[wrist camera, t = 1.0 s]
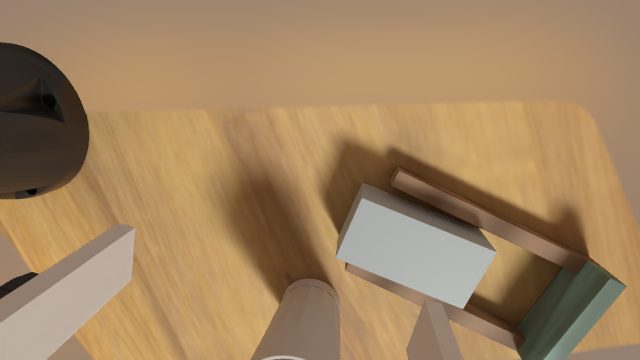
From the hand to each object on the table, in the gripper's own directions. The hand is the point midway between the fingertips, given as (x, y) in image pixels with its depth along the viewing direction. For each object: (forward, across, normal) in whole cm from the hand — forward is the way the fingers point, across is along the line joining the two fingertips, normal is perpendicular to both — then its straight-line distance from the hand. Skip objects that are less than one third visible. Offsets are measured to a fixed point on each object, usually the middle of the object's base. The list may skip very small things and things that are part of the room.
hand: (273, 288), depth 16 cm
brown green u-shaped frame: (+19, +16, -5) cm, 25 cm away
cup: (+20, +3, -14) cm, 24 cm away
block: (+20, +10, -4) cm, 22 cm away
